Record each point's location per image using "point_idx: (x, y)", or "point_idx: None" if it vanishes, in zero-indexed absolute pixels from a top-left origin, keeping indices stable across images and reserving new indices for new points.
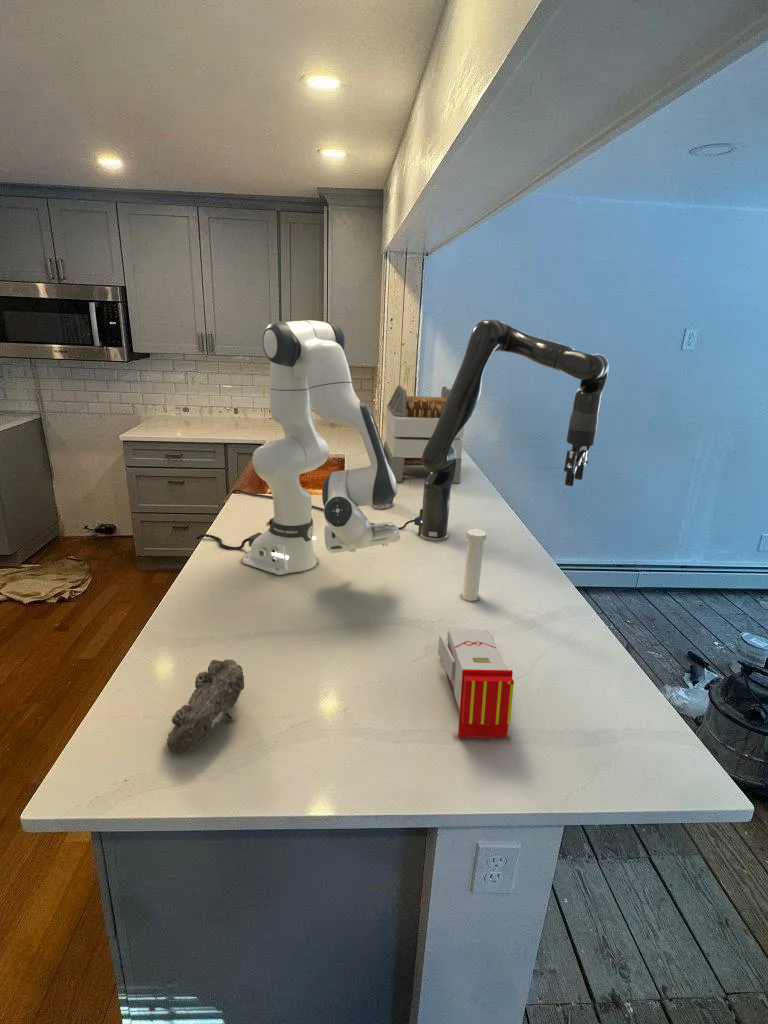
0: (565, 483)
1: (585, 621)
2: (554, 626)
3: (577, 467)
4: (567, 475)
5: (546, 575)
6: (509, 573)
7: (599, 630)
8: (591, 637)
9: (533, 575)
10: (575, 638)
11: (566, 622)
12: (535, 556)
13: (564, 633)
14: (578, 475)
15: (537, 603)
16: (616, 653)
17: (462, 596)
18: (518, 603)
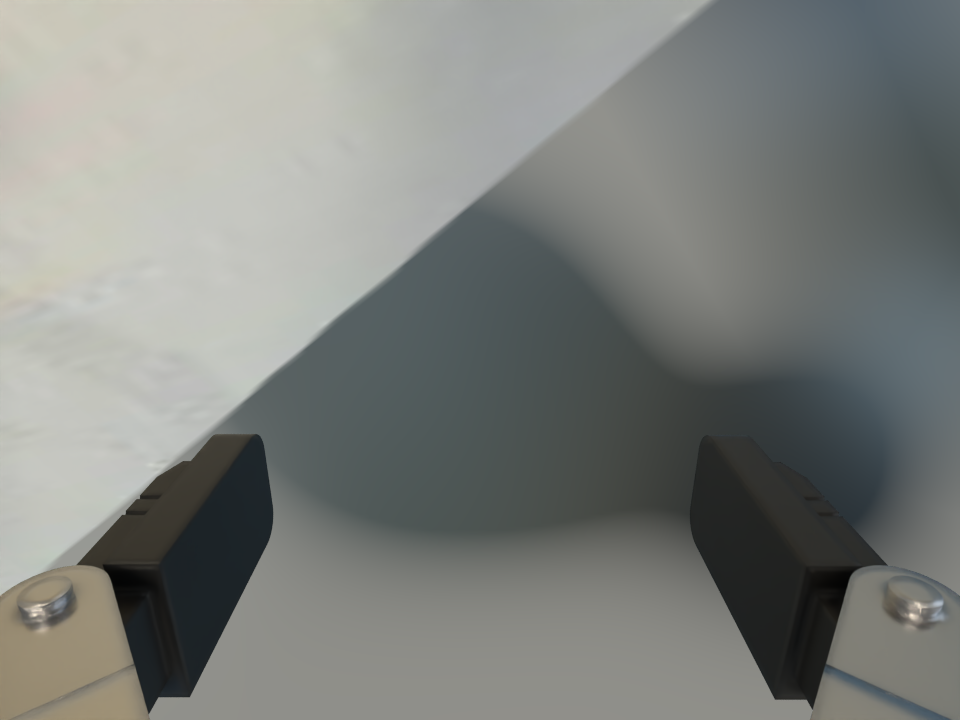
0: (213, 444)
1: (144, 444)
2: (16, 373)
3: (792, 583)
4: (89, 565)
5: (410, 188)
6: (293, 15)
7: (126, 494)
8: (61, 486)
9: (364, 134)
10: (8, 451)
11: (79, 396)
12: (607, 43)
13: (4, 414)
14: (721, 515)
15: (120, 259)
16: (40, 561)
17: None
18: (50, 193)
